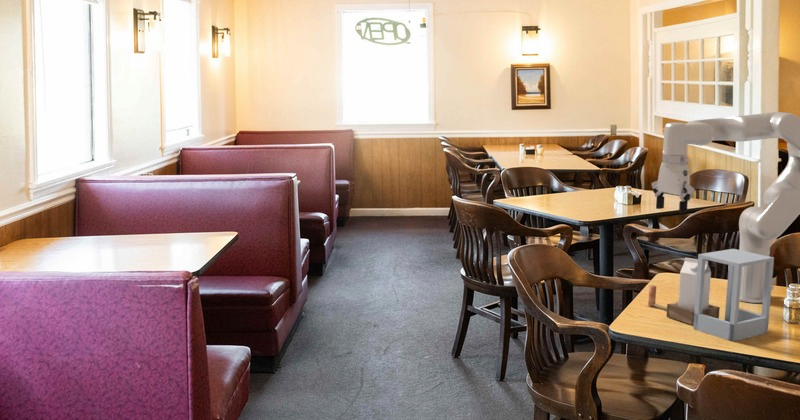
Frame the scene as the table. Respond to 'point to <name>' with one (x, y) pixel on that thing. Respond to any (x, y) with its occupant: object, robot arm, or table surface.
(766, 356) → the table surface
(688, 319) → the brown tray with handle
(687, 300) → the milk carton
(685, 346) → the table surface
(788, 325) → the table surface
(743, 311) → the grey open frame
